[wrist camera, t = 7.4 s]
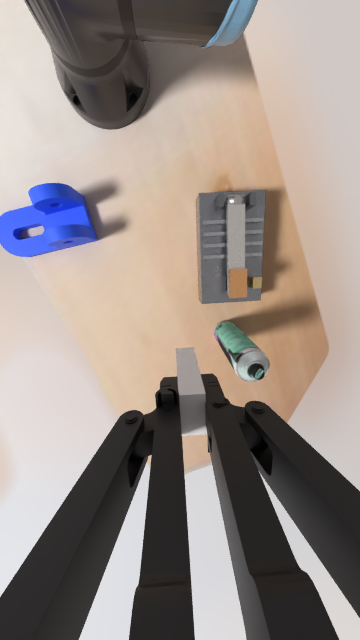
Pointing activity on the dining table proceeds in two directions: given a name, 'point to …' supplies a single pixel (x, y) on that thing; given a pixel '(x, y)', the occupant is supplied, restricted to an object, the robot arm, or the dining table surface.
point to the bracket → (48, 222)
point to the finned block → (215, 245)
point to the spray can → (241, 352)
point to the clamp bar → (236, 246)
